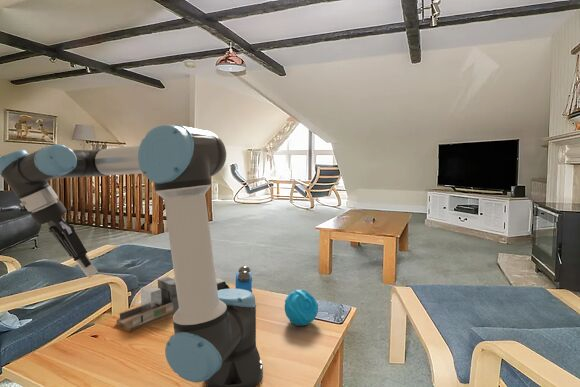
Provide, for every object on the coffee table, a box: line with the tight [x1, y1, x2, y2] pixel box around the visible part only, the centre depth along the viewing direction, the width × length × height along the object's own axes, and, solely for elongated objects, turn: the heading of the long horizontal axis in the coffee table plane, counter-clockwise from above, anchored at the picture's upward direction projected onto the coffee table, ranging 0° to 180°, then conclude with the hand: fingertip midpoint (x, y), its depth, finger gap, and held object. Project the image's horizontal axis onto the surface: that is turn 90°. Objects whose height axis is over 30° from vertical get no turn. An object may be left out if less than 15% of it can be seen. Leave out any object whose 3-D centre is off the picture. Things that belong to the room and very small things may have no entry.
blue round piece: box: [284, 289, 319, 327], centre depth 116 cm, size 12×11×12 cm
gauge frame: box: [116, 276, 179, 333], centre depth 120 cm, size 10×20×12 cm, turn 142°
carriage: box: [140, 284, 162, 313], centre depth 120 cm, size 9×4×9 cm, turn 52°
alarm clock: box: [235, 265, 253, 293], centre depth 130 cm, size 13×6×15 cm, turn 6°
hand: (92, 274), depth 97 cm, fingers closed
